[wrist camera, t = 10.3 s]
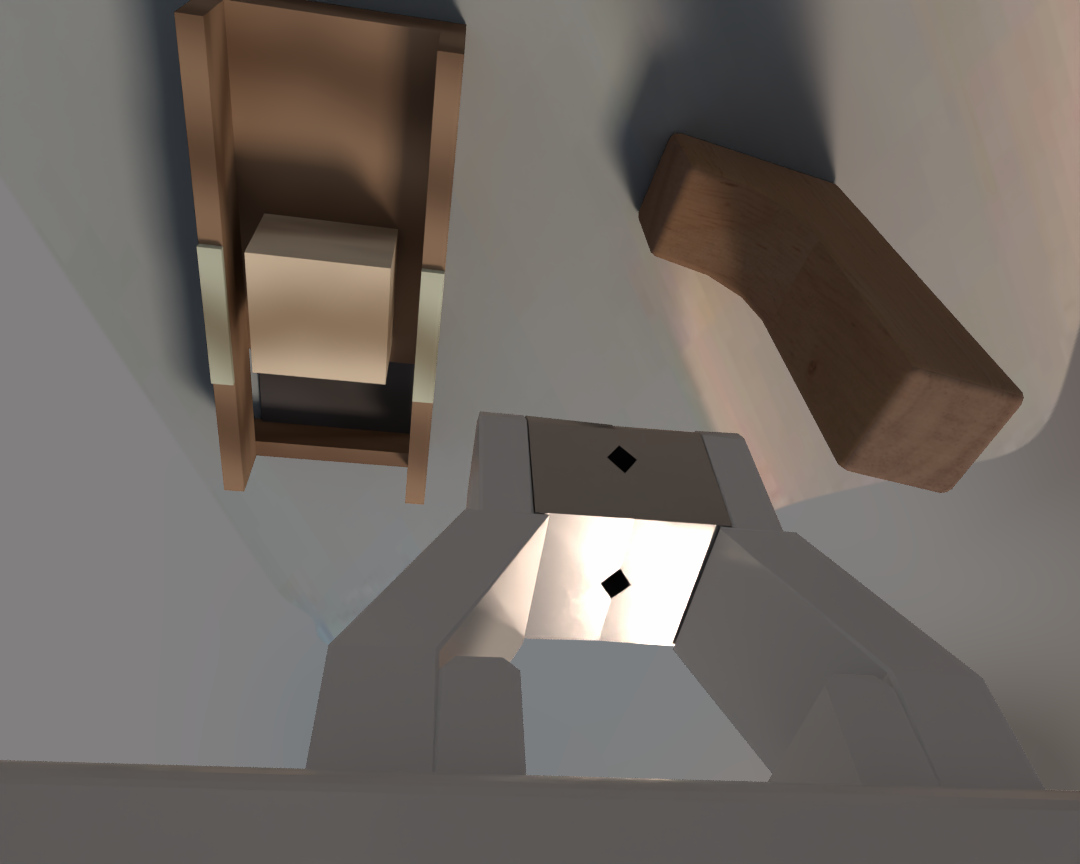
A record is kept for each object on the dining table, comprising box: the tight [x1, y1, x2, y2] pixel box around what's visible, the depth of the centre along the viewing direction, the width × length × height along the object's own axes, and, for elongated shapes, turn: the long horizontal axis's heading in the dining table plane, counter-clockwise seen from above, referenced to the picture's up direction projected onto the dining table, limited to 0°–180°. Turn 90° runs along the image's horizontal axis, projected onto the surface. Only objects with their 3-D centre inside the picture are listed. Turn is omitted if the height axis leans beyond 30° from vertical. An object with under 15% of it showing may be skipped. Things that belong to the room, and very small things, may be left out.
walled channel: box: [174, 0, 466, 504], centre depth 39 cm, size 23×10×5 cm, turn 171°
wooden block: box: [639, 133, 1024, 493], centre depth 33 cm, size 9×4×18 cm, turn 72°
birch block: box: [244, 213, 398, 384], centre depth 38 cm, size 6×6×4 cm
